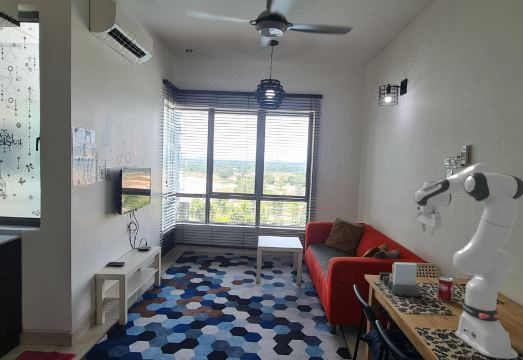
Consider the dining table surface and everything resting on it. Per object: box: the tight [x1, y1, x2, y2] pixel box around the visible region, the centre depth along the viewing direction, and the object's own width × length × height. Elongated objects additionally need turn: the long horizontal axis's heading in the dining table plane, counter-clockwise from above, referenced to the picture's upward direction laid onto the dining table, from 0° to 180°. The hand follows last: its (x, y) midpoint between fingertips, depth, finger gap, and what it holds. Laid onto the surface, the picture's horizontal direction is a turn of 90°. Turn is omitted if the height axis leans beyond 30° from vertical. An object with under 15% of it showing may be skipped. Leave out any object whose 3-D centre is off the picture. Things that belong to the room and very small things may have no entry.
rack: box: [378, 272, 421, 296], centre depth 186 cm, size 22×16×5 cm
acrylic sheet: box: [393, 262, 418, 286], centre depth 177 cm, size 2×12×16 cm, turn 88°
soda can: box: [436, 276, 455, 303], centre depth 169 cm, size 7×7×12 cm
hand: (427, 232), depth 178 cm, fingers open, 8 cm apart
